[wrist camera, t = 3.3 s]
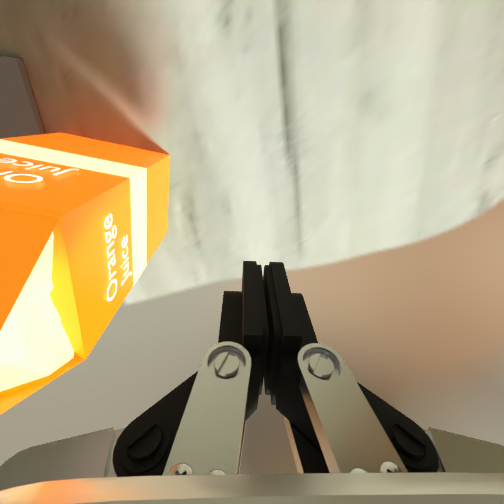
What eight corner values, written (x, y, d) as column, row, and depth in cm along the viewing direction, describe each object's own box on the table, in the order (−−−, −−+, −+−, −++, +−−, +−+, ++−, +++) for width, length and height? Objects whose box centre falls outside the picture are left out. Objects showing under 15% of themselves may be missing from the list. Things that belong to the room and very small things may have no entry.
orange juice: (59, 130, 20) (-1206, 249, 3) (171, 153, 21) (-175, 346, 4) (73, 219, 24) (-401, 515, 6) (167, 235, 25) (-13, 524, 7)
